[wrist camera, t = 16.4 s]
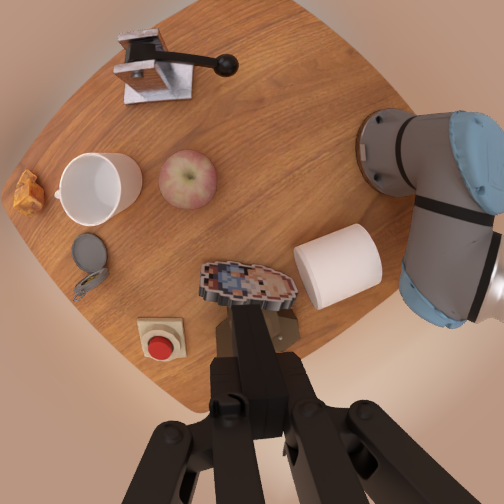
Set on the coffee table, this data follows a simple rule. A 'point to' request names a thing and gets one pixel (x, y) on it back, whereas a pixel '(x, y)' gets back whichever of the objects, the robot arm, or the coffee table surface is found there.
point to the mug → (99, 186)
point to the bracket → (153, 73)
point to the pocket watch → (89, 262)
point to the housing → (163, 334)
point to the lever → (182, 58)
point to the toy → (246, 285)
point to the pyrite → (28, 195)
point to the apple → (188, 180)
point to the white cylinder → (338, 265)
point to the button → (160, 348)
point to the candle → (278, 325)
